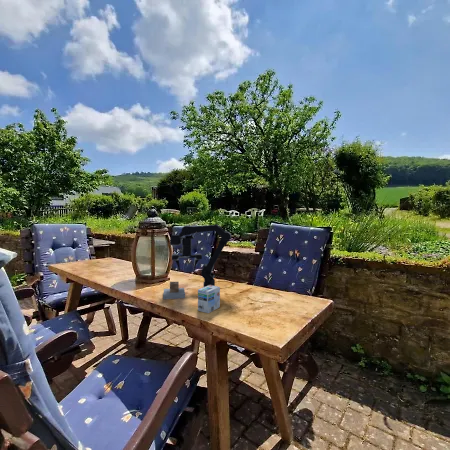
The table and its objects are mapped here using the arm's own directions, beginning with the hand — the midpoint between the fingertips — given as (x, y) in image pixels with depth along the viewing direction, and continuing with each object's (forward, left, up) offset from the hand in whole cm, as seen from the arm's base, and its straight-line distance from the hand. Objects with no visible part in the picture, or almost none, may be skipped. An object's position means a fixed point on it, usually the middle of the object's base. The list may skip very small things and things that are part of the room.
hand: (186, 270), depth 165 cm
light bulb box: (-9, +37, -12) cm, 40 cm away
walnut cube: (+8, +12, -10) cm, 17 cm away
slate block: (+8, +12, -13) cm, 19 cm away
